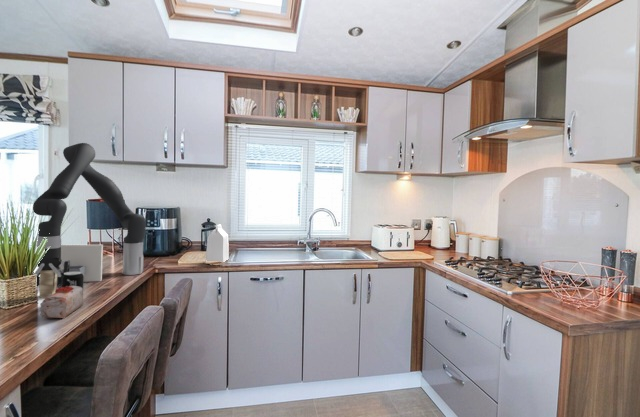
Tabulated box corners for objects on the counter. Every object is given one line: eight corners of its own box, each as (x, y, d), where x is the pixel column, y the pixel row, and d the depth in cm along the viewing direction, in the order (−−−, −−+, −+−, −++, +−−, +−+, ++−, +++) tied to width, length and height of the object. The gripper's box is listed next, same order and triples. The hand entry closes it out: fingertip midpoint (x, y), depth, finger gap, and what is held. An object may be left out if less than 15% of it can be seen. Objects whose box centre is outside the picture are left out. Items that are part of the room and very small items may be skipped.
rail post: (56, 293, 128) (56, 268, 127) (51, 296, 124) (52, 270, 124) (44, 294, 126) (45, 268, 126) (39, 297, 122) (40, 271, 122)
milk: (222, 265, 193) (224, 226, 192) (205, 264, 193) (206, 225, 192) (228, 262, 205) (230, 224, 204) (212, 261, 205) (213, 223, 204)
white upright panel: (101, 279, 150) (102, 244, 150) (94, 286, 140) (95, 248, 139) (57, 281, 144) (58, 244, 143) (45, 288, 133) (46, 248, 132)
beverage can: (59, 306, 115) (60, 275, 114) (64, 300, 120) (65, 271, 120) (80, 304, 118) (81, 274, 117) (84, 298, 124) (85, 270, 123)
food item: (65, 320, 103) (65, 292, 103) (37, 321, 101) (38, 293, 101) (85, 306, 116) (86, 281, 116) (61, 307, 114) (62, 281, 114)
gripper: (74, 244, 130) (73, 282, 131) (32, 245, 125) (31, 284, 126) (66, 247, 123) (65, 287, 124) (21, 248, 118) (21, 289, 119)
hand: (48, 285), depth 125 cm, fingers open, 7 cm apart
